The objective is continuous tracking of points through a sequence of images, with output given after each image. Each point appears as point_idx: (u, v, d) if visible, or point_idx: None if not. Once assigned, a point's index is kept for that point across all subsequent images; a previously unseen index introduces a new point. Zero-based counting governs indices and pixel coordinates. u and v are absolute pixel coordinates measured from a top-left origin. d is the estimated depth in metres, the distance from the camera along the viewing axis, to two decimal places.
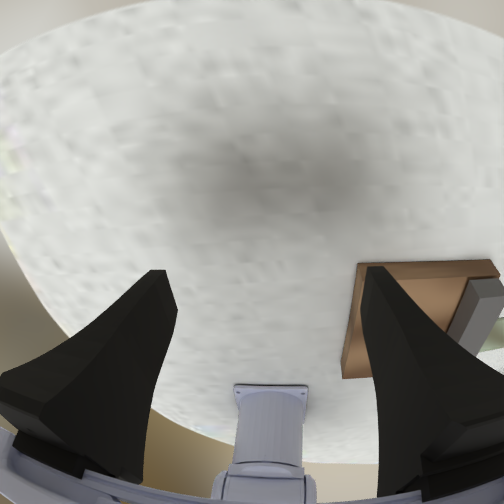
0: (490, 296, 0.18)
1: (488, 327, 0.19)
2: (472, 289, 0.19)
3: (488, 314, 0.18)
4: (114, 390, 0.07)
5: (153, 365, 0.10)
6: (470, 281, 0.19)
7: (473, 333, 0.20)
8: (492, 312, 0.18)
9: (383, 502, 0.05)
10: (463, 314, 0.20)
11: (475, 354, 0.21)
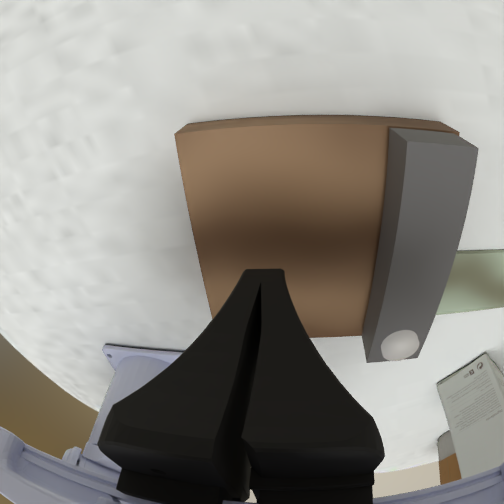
0: (433, 142, 0.09)
1: (452, 227, 0.11)
2: (395, 138, 0.10)
3: (442, 191, 0.10)
4: (242, 405, 0.07)
5: None
6: (391, 129, 0.11)
7: (421, 238, 0.11)
8: (451, 187, 0.10)
9: (383, 502, 0.05)
10: (392, 199, 0.12)
11: (439, 294, 0.13)
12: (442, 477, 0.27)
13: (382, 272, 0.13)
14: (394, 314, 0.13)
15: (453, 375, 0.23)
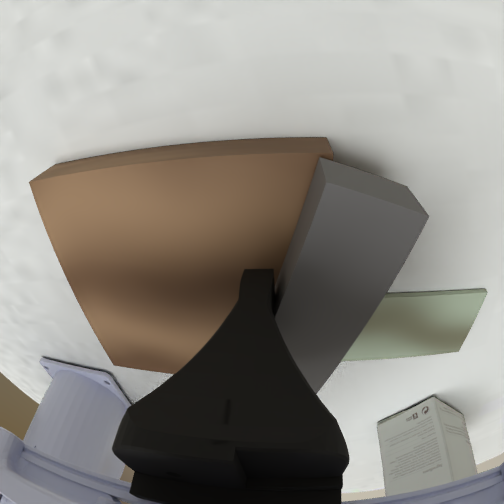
0: (365, 192, 0.08)
1: (363, 302, 0.09)
2: (319, 173, 0.09)
3: (360, 256, 0.09)
4: None
5: None
6: (320, 159, 0.09)
7: (318, 304, 0.10)
8: (375, 255, 0.08)
9: (383, 502, 0.05)
10: (294, 246, 0.10)
11: (330, 367, 0.11)
12: None
13: None
14: None
15: (395, 416, 0.21)
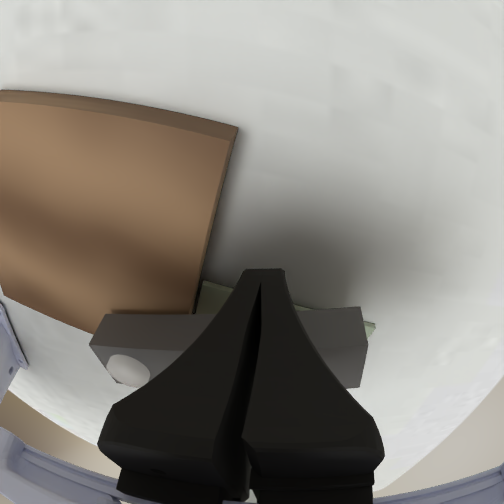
0: (364, 359, 0.11)
1: None
2: (357, 320, 0.12)
3: None
4: (242, 405, 0.07)
5: None
6: (359, 309, 0.12)
7: None
8: None
9: (383, 502, 0.05)
10: None
11: None
12: None
13: None
14: (165, 361, 0.12)
15: None
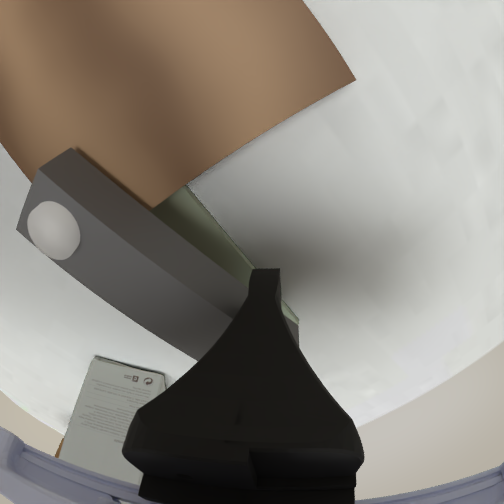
0: None
1: (194, 349, 0.12)
2: (295, 336, 0.13)
3: None
4: None
5: None
6: (297, 327, 0.13)
7: (205, 328, 0.11)
8: None
9: (383, 502, 0.05)
10: None
11: (114, 303, 0.11)
12: (56, 457, 0.24)
13: (177, 259, 0.10)
14: (113, 253, 0.09)
15: (116, 364, 0.21)
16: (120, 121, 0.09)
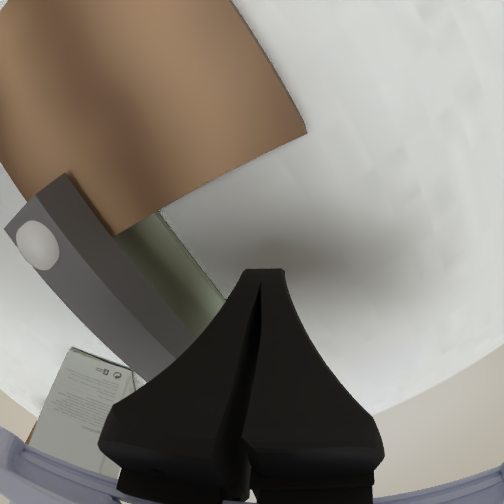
0: None
1: (129, 358, 0.14)
2: None
3: None
4: (242, 405, 0.07)
5: None
6: None
7: (141, 347, 0.13)
8: None
9: (383, 502, 0.05)
10: (181, 341, 0.14)
11: (74, 310, 0.12)
12: (29, 438, 0.25)
13: (132, 293, 0.12)
14: (83, 277, 0.11)
15: (89, 357, 0.22)
16: (98, 153, 0.11)
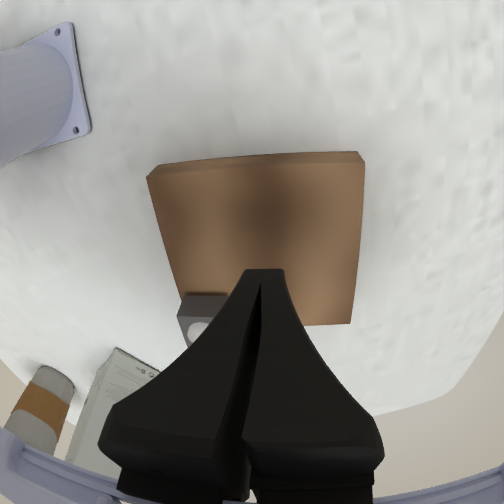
0: None
1: None
2: None
3: None
4: (242, 405, 0.07)
5: None
6: None
7: None
8: None
9: (383, 502, 0.05)
10: None
11: None
12: (27, 397, 0.31)
13: None
14: None
15: (130, 357, 0.31)
16: None
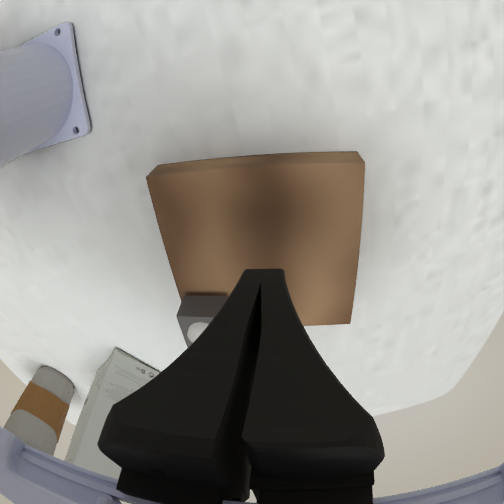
0: None
1: None
2: None
3: None
4: (242, 405, 0.07)
5: None
6: None
7: None
8: None
9: (383, 502, 0.05)
10: None
11: None
12: (27, 397, 0.31)
13: None
14: None
15: (130, 357, 0.31)
16: None
